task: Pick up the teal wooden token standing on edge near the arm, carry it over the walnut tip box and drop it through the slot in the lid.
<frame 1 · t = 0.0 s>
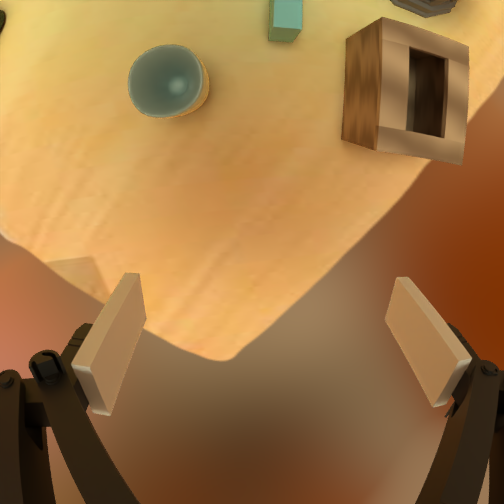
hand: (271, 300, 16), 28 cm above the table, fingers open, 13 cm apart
token: (281, 17, 32), on the table
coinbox: (382, 94, 36), on the table
cup: (183, 87, 36), on the table
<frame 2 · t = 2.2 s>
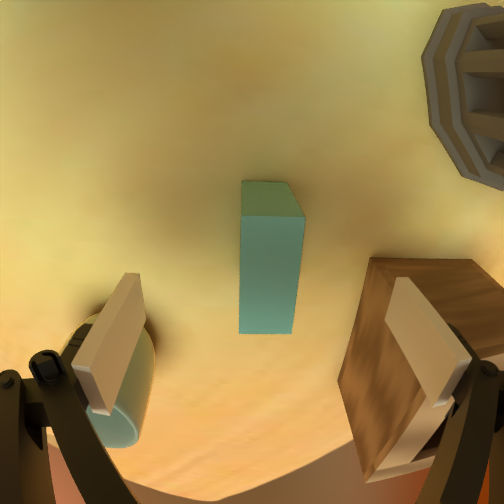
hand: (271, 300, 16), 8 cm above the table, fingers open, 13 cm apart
token: (262, 230, 23), on the table
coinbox: (405, 325, 27), on the table
cup: (122, 331, 27), on the table
lantern: (496, 95, 18), on the table
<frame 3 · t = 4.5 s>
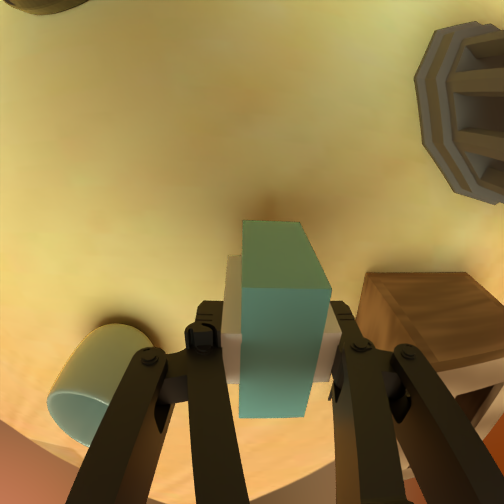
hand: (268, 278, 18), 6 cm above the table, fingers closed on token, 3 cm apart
token: (267, 279, 18), point 6 cm above the table, touching gripper
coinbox: (402, 337, 28), on the table
cup: (128, 343, 28), on the table
lantern: (488, 111, 20), on the table
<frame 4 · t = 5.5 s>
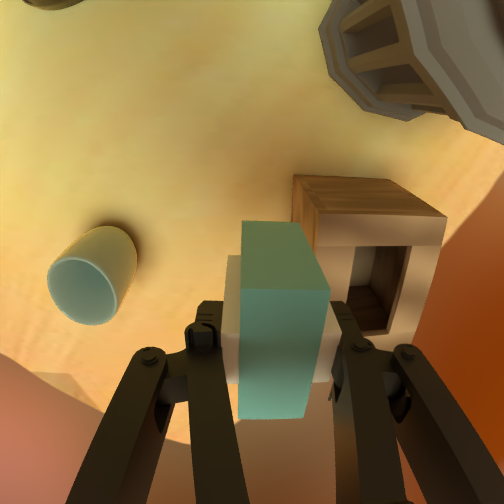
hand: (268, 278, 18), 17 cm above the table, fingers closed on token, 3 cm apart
token: (266, 280, 18), point 17 cm above the table, touching gripper
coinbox: (337, 236, 36), on the table
cup: (114, 246, 36), on the table
lantern: (392, 48, 26), on the table
when the fingers open (13 cm above the table, at t = 6.8 s): token drops 12 cm, resting on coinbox.
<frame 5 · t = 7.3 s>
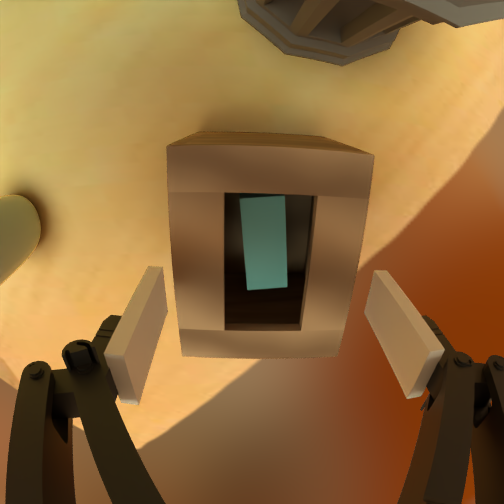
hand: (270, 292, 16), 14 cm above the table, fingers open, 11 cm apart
token: (260, 214, 29), point 1 cm above the table, touching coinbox
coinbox: (258, 208, 30), on the table
cup: (25, 219, 29), on the table
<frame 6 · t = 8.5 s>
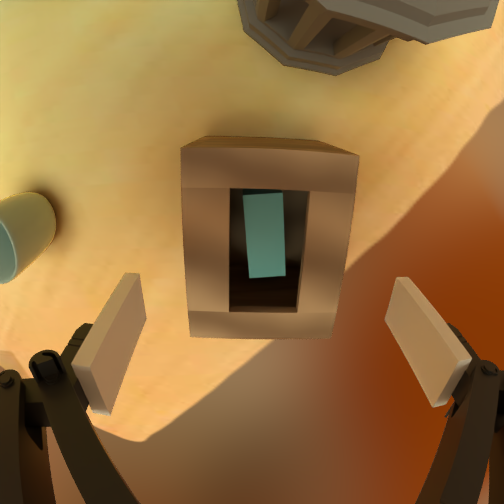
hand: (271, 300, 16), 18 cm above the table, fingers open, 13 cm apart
token: (261, 211, 32), point 1 cm above the table, touching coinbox
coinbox: (259, 206, 32), on the table
cup: (40, 215, 32), on the table
lantern: (318, 2, 24), on the table
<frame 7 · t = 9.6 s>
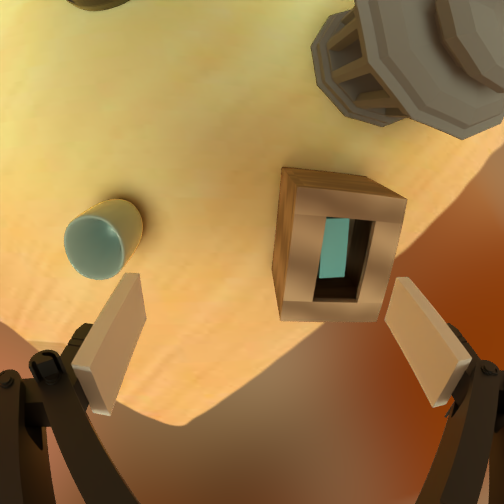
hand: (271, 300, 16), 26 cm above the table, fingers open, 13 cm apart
token: (320, 228, 41), point 1 cm above the table, touching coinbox
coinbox: (318, 223, 42), on the table
cup: (123, 219, 41), on the table
lantern: (373, 64, 33), on the table
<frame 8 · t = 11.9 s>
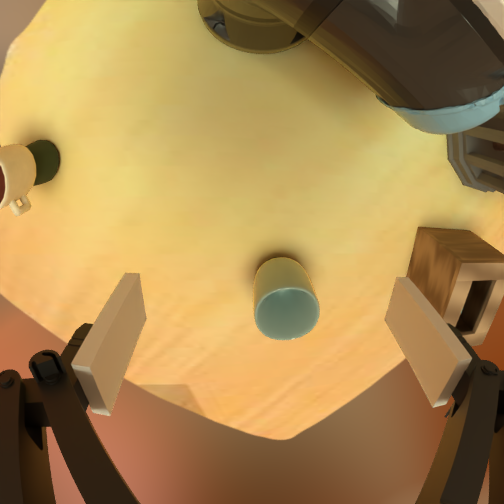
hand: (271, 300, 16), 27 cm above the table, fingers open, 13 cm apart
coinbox: (435, 269, 46), on the table
cup: (278, 273, 46), on the table
character mug: (45, 160, 37), on the table
lantern: (483, 140, 37), on the table
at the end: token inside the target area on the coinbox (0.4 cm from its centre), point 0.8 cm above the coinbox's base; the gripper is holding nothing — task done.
